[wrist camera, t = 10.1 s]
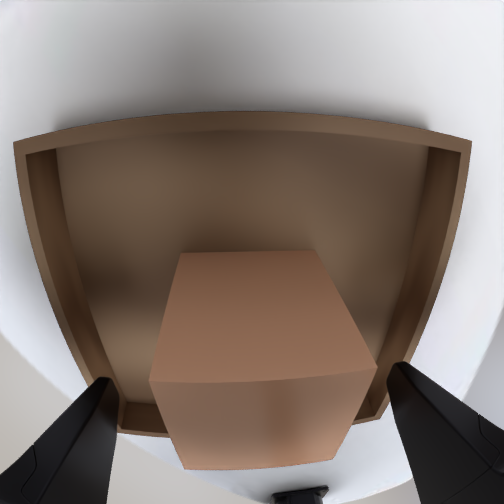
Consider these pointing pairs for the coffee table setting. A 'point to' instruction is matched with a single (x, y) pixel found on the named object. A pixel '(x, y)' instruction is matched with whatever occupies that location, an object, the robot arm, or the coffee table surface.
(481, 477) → the robot arm
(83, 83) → the coffee table surface
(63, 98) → the coffee table surface
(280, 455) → the terracotta block
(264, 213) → the walnut tray
